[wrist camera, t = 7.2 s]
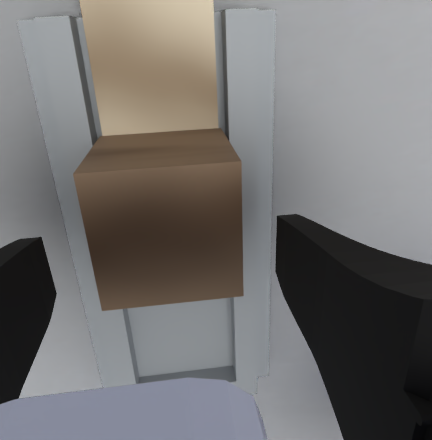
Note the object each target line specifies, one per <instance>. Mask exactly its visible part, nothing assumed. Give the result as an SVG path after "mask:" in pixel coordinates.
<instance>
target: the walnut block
mask: <svg viewBox="0 0 432 440" xmlns="http://www.w3.org/2000/svg"><path fill="white" fill-rule="evenodd" d="M73 177H74V182H75V186H76V191H77V196H78V201H79V205H80V210H81V215H82V219H83V224H84V229H85V234H86V238H87V243H88V248H89V253H90V257H91V262H92V267H93V271H94V276H95V281H96V286H97V290H98V295H99V300H100V305H101V309H102V311H109V310H118V309H128V308H137V307H147V306H156V305H165V304H175V303H184V302H194V301H203V300H213V299H222V298H231V297H241V296H244V287H243V225H242V162H241V160H240V158H239V156H238V155H237V153H236V152H235V150H234V148H233V147H232V145H231V144H230V142H229V140H228V139H227V137H226V135H225V134H224V132H223V131H222V129H221V128H213V129H198V130H183V131H169V132H154V133H139V134H125V135H110V136H100V137H99V138H98V140H97V141H96V142H95V144H94V145H93V147H92V148H91V149H90V151H89V152H88V154H87V155H86V156H85V158H84V159H83V161H82V162H81V163H80V165H79V166H78V168H77V169H76V170H75V172H74V173H73Z"/></svg>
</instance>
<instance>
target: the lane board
mask: <svg viewBox="0 0 432 440" xmlns="http://www.w3.org/2000/svg"><path fill="white" fill-rule="evenodd" d="M16 21H17V25H18V29H19V34H20V38H21V42H22V46H23V51H24V55H25V59H26V63H27V68H28V72H29V76H30V80H31V85H32V89H33V93H34V97H35V102H36V106H37V110H38V114H39V119H40V123H41V127H42V131H43V136H44V140H45V144H46V148H47V153H48V157H49V161H50V165H51V170H52V174H53V178H54V182H55V187H56V191H57V195H58V199H59V204H60V208H61V212H62V216H63V221H64V225H65V229H66V233H67V238H68V242H69V246H70V250H71V255H72V259H73V263H74V268H75V272H76V276H77V280H78V285H79V289H80V293H81V297H82V302H83V306H84V310H85V314H86V319H87V323H88V327H89V331H90V336H91V340H92V344H93V348H94V353H95V357H96V361H97V365H98V370H99V374H100V378H101V382H102V387H103V388H107V387H115V386H123V385H131V384H139V383H147V382H155V381H163V380H171V379H179V378H187V377H190V378H205V379H220V380H226V381H228V382H230V383H231V384H233V385H235V386H237V387H238V388H240V389H242V390H243V391H245V392H247V393H249V394H250V395H251V394H257V377H262V376H269V332H270V282H271V231H272V181H273V131H274V80H275V30H276V9H268V10H258V8H241V9H225V10H223V11H221V12H214V30H215V54H216V79H217V104H218V128H221V129H222V131H223V132H224V134H225V135H226V137H227V139H228V140H229V142H230V144H231V145H232V147H233V148H234V150H235V152H236V153H237V155H238V156H239V158H240V160H241V162H242V225H243V287H244V296H241V297H231V298H222V299H213V300H203V301H194V302H184V303H175V304H165V305H156V306H147V307H137V308H128V309H118V310H109V311H102V309H101V305H100V300H99V295H98V290H97V286H96V281H95V276H94V271H93V267H92V262H91V257H90V253H89V248H88V243H87V238H86V234H85V229H84V224H83V219H82V215H81V210H80V205H79V201H78V196H77V191H76V186H75V182H74V177H73V173H74V172H75V170H76V169H77V168H78V166H79V165H80V163H81V162H82V161H83V159H84V158H85V156H86V155H87V154H88V152H89V151H90V149H91V148H92V147H93V145H94V144H95V142H96V141H97V140H98V138H99V137H100V136H102V131H101V125H100V119H99V113H98V107H97V101H96V95H95V89H94V83H93V78H92V72H91V66H90V60H89V54H88V48H87V42H86V36H85V31H84V25H83V19H82V17H79V18H76V17H72V16H49V17H34V19H31V20H16Z"/></svg>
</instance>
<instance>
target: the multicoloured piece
mask: <svg viewBox="0 0 432 440" xmlns="http://www.w3.org/2000/svg"><path fill="white" fill-rule="evenodd" d="M79 1H80V7H81V13H82V19H83V25H84V31H85V36H86V42H87V48H88V54H89V60H90V66H91V72H92V78H93V83H94V89H95V95H96V101H97V107H98V113H99V119H100V125H101V131H102V136H110V135H125V134H139V133H154V132H169V131H183V130H198V129H213V128H218V104H217V79H216V54H215V30H214V5H213V0H79Z"/></svg>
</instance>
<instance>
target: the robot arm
mask: <svg viewBox="0 0 432 440" xmlns="http://www.w3.org/2000/svg"><path fill="white" fill-rule="evenodd" d="M276 274H277V277H278V281H279V284H280V287H281V290H282V293H283V295H284V298H285V300H286V302H287V304H288V306H289V308H290V310H291V312H292V314H293V316H294V318H295V320H296V322H297V324H298V326H299V328H300V330H301V332H302V334H303V336H304V338H305V340H306V342H307V344H308V346H309V348H310V350H311V352H312V354H313V356H314V358H315V361H316V363H317V365H318V368H319V371H320V373H321V376H322V379H323V381H324V384H325V387H326V390H327V392H328V395H329V398H330V401H331V404H332V407H333V410H334V412H335V415H336V418H337V421H338V424H339V427H340V430H341V433H342V436H343V439H344V440H432V265H430V264H426V263H422V262H417V261H413V260H410V259H406V258H402V257H399V256H396V255H393V254H389V253H386V252H383V251H380V250H377V249H374V248H372V247H369V246H367V245H364V244H362V243H359V242H357V241H354V240H352V239H350V238H347V237H345V236H343V235H341V234H339V233H336V232H334V231H332V230H330V229H328V228H326V227H324V226H322V225H320V224H318V223H316V222H314V221H312V220H310V219H307V218H305V217H303V216H300V215H297V214H292V215H281V216H277V236H276ZM56 294H57V293H56V290H55V286H54V282H53V278H52V275H51V271H50V267H49V263H48V260H47V256H46V252H45V249H44V245H43V241H42V237H37V238H26V239H19V240H17V241H14V242H12V243H10V244H8V245H6V246H4V247H2V248H1V249H0V440H267V436H266V432H265V428H264V424H263V420H262V417H261V415H260V412H259V410H258V407H257V405H256V402H255V400H254V397H253V396H252V395H250V394H249V393H247V392H245V391H243V390H242V389H240V388H238V387H237V386H235V385H233V384H231V383H230V382H228V381H226V380H220V379H205V378H190V377H187V378H179V379H171V380H163V381H155V382H147V383H139V384H131V385H123V386H115V387H107V388H99V389H91V390H83V391H75V392H67V393H59V394H51V395H43V396H35V397H27V398H19V396H20V393H21V390H22V387H23V385H24V383H25V380H26V378H27V375H28V373H29V371H30V368H31V366H32V364H33V361H34V359H35V357H36V354H37V352H38V349H39V347H40V345H41V342H42V340H43V337H44V335H45V333H46V330H47V328H48V325H49V322H50V319H51V315H52V312H53V307H54V303H55V299H56ZM18 398H19V399H18Z"/></svg>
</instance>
